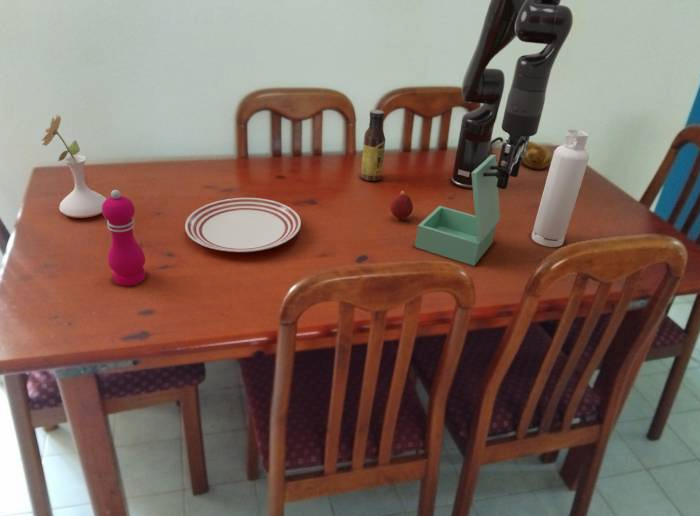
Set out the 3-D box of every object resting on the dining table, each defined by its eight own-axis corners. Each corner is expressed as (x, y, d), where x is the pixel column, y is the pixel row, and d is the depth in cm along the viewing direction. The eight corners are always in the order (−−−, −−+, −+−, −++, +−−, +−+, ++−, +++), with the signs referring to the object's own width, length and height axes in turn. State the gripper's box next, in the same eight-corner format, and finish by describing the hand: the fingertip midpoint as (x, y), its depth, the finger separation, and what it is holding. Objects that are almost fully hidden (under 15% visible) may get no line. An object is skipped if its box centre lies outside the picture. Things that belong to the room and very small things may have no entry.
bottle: (524, 236, 155) (552, 130, 139) (544, 229, 159) (573, 125, 144) (550, 250, 150) (582, 141, 134) (569, 242, 154) (602, 135, 138)
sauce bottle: (379, 183, 177) (386, 116, 166) (358, 180, 178) (364, 113, 166) (382, 175, 182) (389, 109, 171) (362, 172, 183) (368, 107, 172)
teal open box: (414, 247, 146) (418, 225, 143) (436, 226, 156) (439, 205, 153) (474, 266, 141) (479, 243, 137) (492, 242, 151) (497, 221, 148)
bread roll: (506, 158, 202) (511, 135, 197) (528, 155, 206) (533, 132, 201) (532, 173, 192) (538, 149, 188) (554, 169, 197) (561, 145, 192)
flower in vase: (82, 198, 155) (62, 101, 141) (119, 207, 153) (103, 109, 139) (45, 219, 145) (20, 116, 131) (84, 229, 142) (63, 125, 128)
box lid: (471, 172, 130) (497, 172, 127) (491, 154, 140) (515, 153, 137) (477, 241, 137) (501, 242, 134) (495, 219, 147) (518, 219, 145)
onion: (414, 218, 159) (418, 190, 155) (406, 226, 155) (410, 198, 150) (393, 212, 161) (397, 185, 157) (385, 221, 157) (388, 192, 152)
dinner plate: (204, 271, 130) (203, 258, 129) (173, 217, 150) (172, 205, 148) (319, 249, 142) (319, 237, 140) (276, 202, 162) (276, 190, 160)
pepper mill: (116, 268, 129) (100, 181, 118) (150, 269, 130) (138, 183, 118) (107, 287, 123) (90, 197, 112) (144, 287, 124) (130, 198, 112)
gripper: (532, 121, 119) (514, 196, 128) (549, 105, 129) (531, 176, 138) (496, 113, 121) (480, 188, 130) (515, 98, 132) (500, 168, 141)
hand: (507, 181), depth 134 cm, fingers open, 8 cm apart
